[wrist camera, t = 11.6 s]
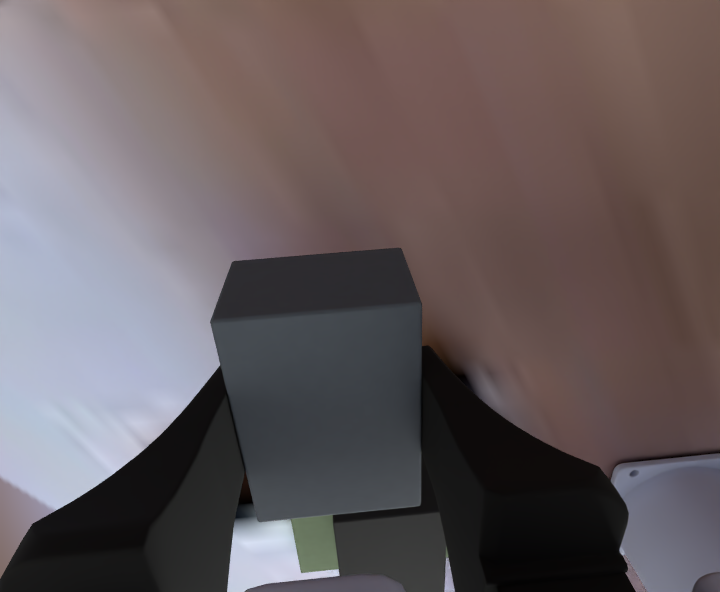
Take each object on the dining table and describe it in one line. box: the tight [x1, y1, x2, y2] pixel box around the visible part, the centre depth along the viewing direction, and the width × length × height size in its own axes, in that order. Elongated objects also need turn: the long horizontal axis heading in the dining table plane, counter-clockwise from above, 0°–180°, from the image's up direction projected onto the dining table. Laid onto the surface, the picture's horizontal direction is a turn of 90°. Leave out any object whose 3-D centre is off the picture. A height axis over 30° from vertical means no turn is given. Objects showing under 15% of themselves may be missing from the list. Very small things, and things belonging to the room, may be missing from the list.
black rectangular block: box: [333, 453, 446, 592], centre depth 24 cm, size 5×7×3 cm
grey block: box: [210, 248, 422, 522], centre depth 15 cm, size 5×7×3 cm
